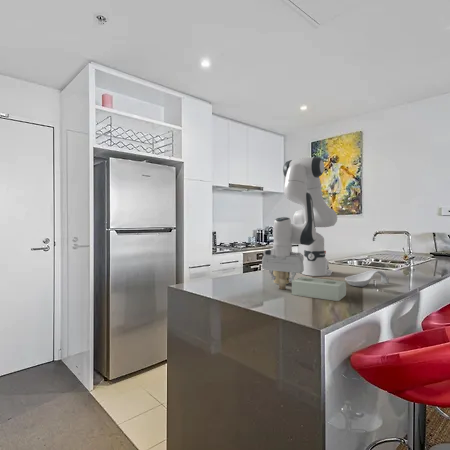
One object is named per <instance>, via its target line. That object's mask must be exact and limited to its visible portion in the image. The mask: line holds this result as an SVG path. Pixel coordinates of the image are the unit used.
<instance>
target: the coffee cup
mask: <svg viewBox="0 0 450 450" xmlns="http://www.w3.org/2000/svg"><path fill="white" fill-rule="evenodd" d="M273 274H274V276H276V277H275V278H276V279H275V280H273V284H275V285H279V271H274V272H273ZM290 274H291V272H286V285H289V284H290V282H289V278H290V276H291V275H290Z"/></svg>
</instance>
